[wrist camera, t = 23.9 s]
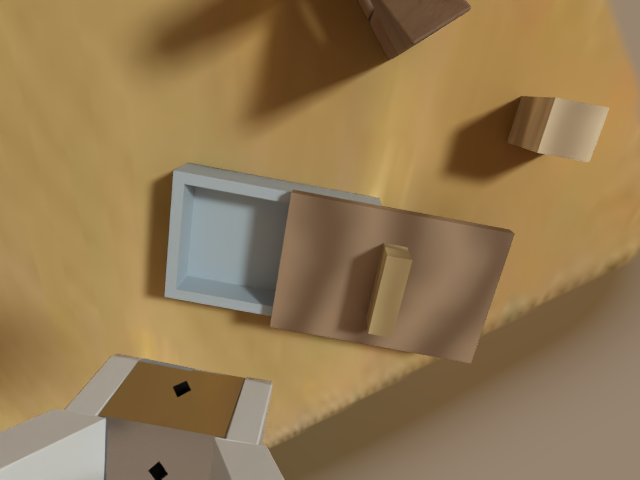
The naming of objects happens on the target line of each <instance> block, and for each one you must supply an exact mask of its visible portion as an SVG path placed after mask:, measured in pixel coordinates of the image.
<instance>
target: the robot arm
mask: <svg viewBox="0 0 640 480" xmlns="http://www.w3.org/2000/svg"><path fill="white" fill-rule="evenodd" d="M272 386H273V383H272V381H268V380H261V379H255V378H248V377H247V378H242V377H236V376H230V375H225V374H219V373H213V372H208V371H202V370H196V369H193V368H188V367H183V366H178V365H173V364H169V363H164V362H159V361H154V360H149V359H141V358H138V357H132V356H127V355H122V354H115V355H113V356H111V357H110V358H109V359H108V360H107V361H106V362H105V363H104V365H103V366H102V367H101V368H100V369H99V370H98V371H97V373H96V374H95V375H94V376H93V377H92V378H91V379H90V381H89V382H88V383H87V384H86V385H85V386H84V388H83V389H82V390H81V391H80V392H79V393H78V394H77V396H76V397H75V398H74V399H73V400H72V401H71V402H70V404H69V405H68V406H67V407H66V408H65V409H64V410H59V409H53V410H51V411H49V412H46V413H44V414H42V415H39V416H37V417H35V418H32V419H30V420H28V421H25V422H23V423H20V424H18V425H16V426H13V427H11V428H9V429H6V430H4V431H2V432H0V480H284V478H283V476H282V475H281V473H280V471H279V469H278V467H277V465H276V463H275V461H274V460H273V458H272V456H271V454H270V452H269V450H268V448H267V447H266V446H262V445H263V439H264V434H265V428H266V422H267V416H268V410H269V405H270V399H271V393H272Z"/></svg>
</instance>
